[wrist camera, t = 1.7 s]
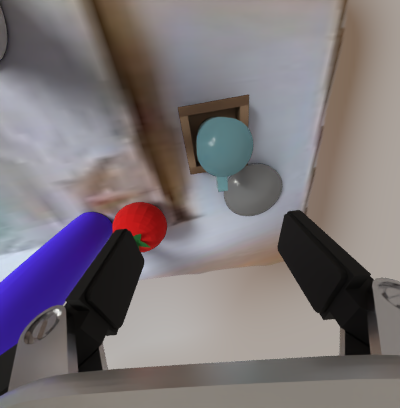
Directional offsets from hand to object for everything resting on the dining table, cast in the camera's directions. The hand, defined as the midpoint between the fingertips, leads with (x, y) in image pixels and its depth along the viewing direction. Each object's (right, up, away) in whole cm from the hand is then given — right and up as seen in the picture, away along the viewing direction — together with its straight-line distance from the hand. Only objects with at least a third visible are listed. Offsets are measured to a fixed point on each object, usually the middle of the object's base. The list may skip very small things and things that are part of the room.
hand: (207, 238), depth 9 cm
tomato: (-13, 0, +25) cm, 28 cm away
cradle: (+2, +14, +17) cm, 22 cm away
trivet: (+11, +5, +23) cm, 25 cm away
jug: (+2, +12, +17) cm, 21 cm away
